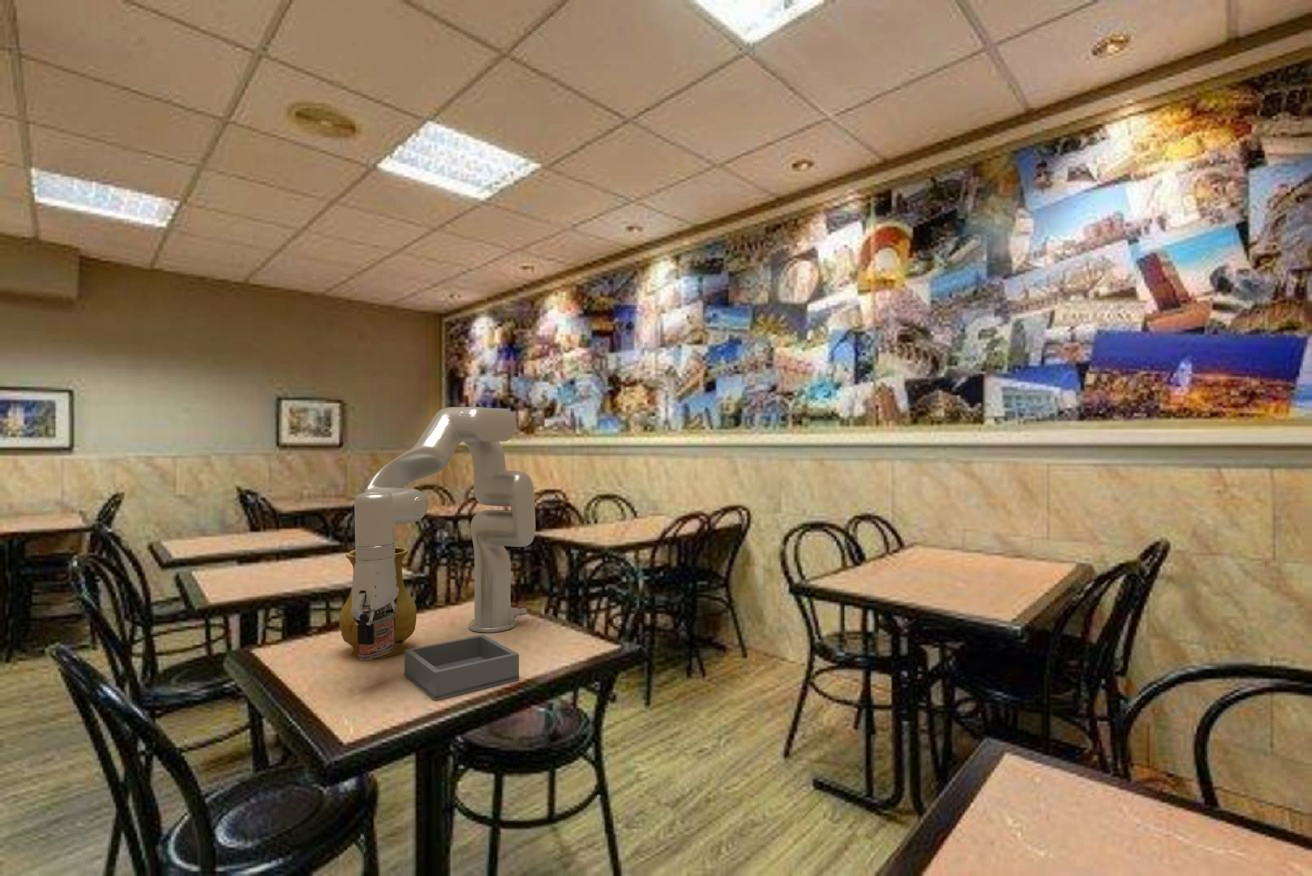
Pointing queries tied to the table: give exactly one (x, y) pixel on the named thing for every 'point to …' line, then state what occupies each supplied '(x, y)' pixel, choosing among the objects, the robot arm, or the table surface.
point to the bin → (460, 666)
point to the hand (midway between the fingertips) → (377, 636)
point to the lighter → (380, 635)
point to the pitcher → (403, 613)
